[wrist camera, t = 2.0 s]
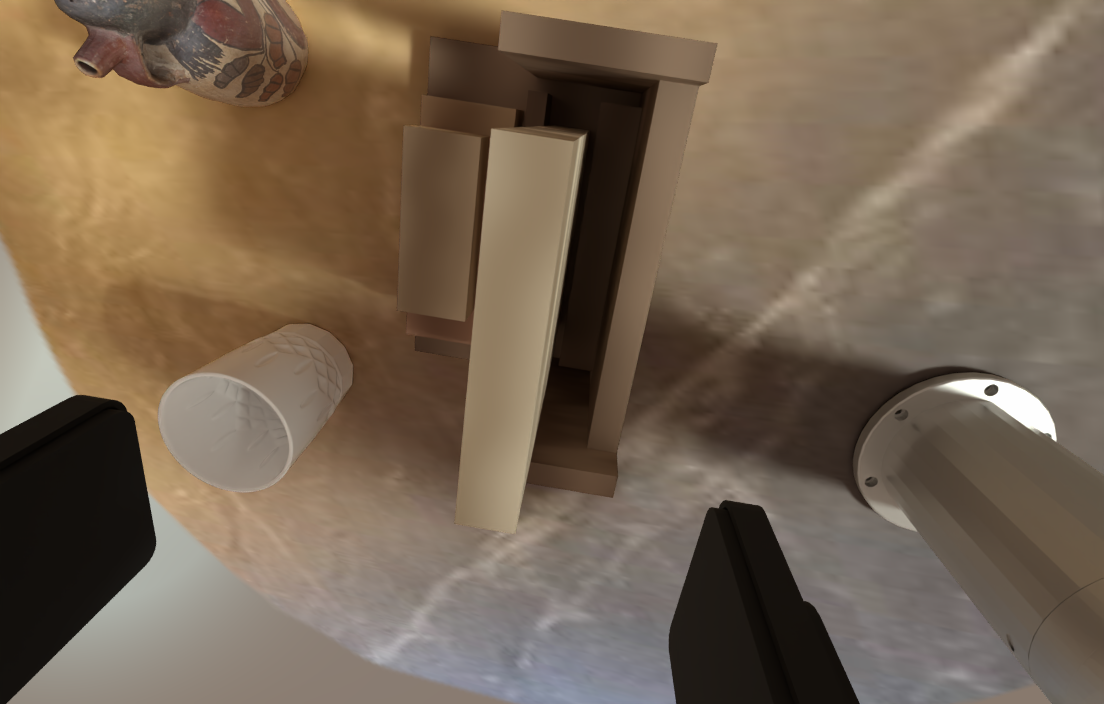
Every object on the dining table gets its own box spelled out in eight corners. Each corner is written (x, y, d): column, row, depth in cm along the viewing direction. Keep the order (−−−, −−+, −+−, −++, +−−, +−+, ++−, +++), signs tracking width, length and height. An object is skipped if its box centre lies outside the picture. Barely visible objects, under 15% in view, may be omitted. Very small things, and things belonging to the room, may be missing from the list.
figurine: (317, -6, 31) (163, -75, 20) (302, 123, 34) (159, 123, 23) (194, -48, 31) (-29, -142, 20) (189, 85, 34) (-10, 67, 23)
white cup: (237, 358, 41) (131, 426, 32) (301, 292, 39) (207, 345, 29) (317, 430, 43) (239, 514, 34) (384, 372, 40) (320, 445, 31)
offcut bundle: (523, 110, 31) (501, 107, 25) (499, 322, 37) (475, 369, 30) (437, 96, 32) (391, 89, 25) (425, 310, 37) (384, 354, 30)
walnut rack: (670, 76, 32) (717, 43, 19) (609, 373, 39) (613, 497, 26) (437, 39, 32) (326, -17, 19) (421, 342, 39) (332, 449, 26)
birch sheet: (590, 130, 32) (573, 141, 13) (559, 325, 36) (515, 534, 18) (555, 125, 32) (491, 128, 13) (529, 320, 36) (454, 523, 18)
